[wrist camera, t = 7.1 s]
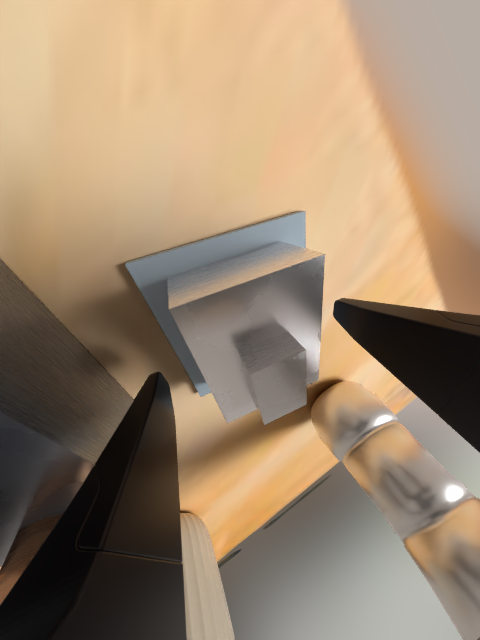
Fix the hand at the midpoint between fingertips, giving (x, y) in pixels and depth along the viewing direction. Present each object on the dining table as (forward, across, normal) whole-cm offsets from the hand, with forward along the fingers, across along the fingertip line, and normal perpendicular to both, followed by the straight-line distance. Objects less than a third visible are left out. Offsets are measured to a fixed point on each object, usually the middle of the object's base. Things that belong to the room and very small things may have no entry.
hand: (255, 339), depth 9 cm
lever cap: (+2, 0, 0) cm, 2 cm away
